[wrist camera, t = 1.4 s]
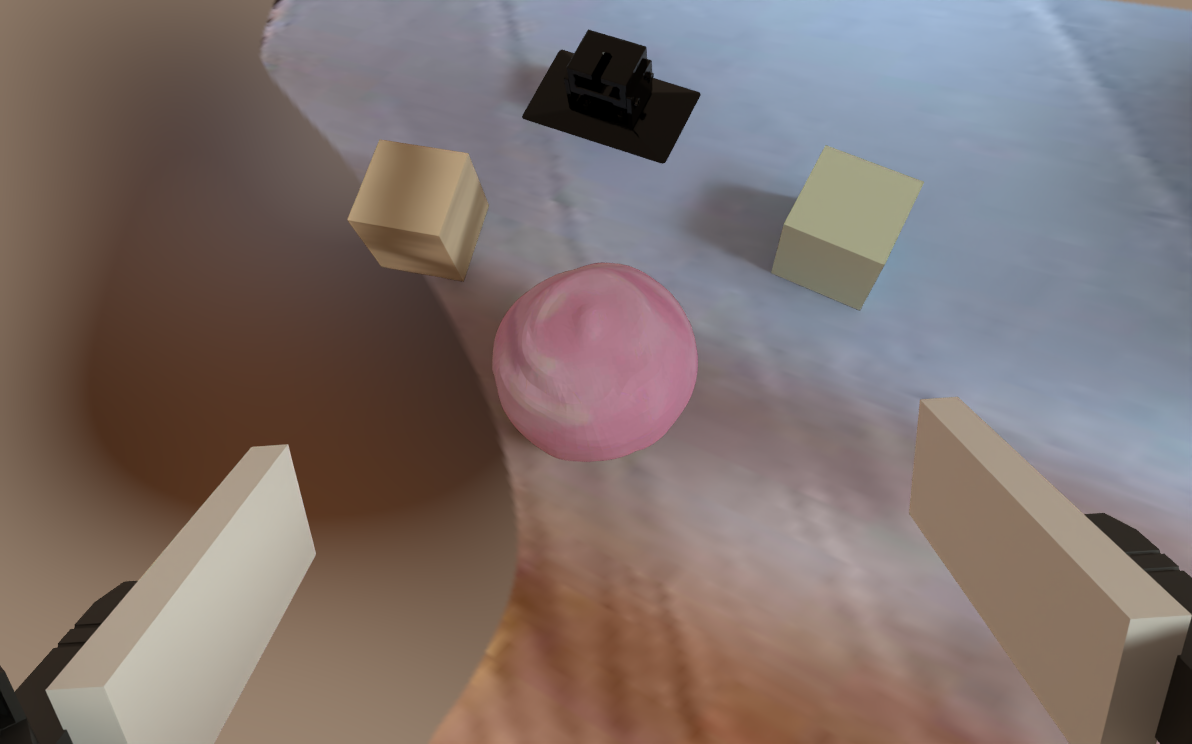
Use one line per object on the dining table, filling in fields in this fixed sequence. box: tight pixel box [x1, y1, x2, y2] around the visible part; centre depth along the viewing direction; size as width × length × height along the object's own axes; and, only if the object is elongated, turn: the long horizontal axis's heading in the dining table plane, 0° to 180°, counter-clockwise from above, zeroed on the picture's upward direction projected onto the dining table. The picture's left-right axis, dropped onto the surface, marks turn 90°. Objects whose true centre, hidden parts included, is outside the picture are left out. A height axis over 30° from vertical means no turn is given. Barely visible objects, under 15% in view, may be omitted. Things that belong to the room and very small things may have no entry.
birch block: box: [348, 140, 489, 282], centre depth 42 cm, size 5×5×5 cm
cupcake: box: [492, 263, 698, 462], centre depth 35 cm, size 9×9×10 cm
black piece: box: [522, 30, 700, 163], centre depth 45 cm, size 12×7×5 cm, turn 65°
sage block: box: [771, 146, 924, 310], centre depth 39 cm, size 5×5×5 cm
